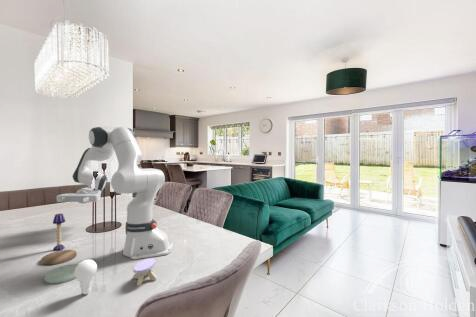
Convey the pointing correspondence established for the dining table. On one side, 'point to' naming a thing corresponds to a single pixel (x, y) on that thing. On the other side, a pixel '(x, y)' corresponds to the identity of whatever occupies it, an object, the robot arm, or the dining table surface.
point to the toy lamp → (58, 230)
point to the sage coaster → (61, 274)
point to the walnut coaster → (58, 257)
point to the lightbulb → (85, 274)
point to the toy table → (144, 270)
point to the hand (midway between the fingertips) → (72, 200)
